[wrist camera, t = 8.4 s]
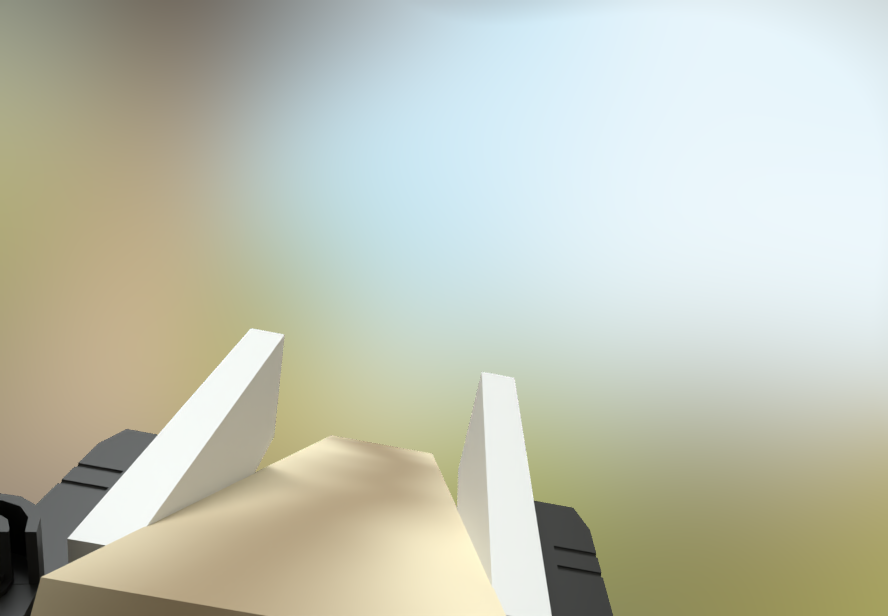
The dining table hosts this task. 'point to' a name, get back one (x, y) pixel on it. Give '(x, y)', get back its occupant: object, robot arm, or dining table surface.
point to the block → (293, 547)
